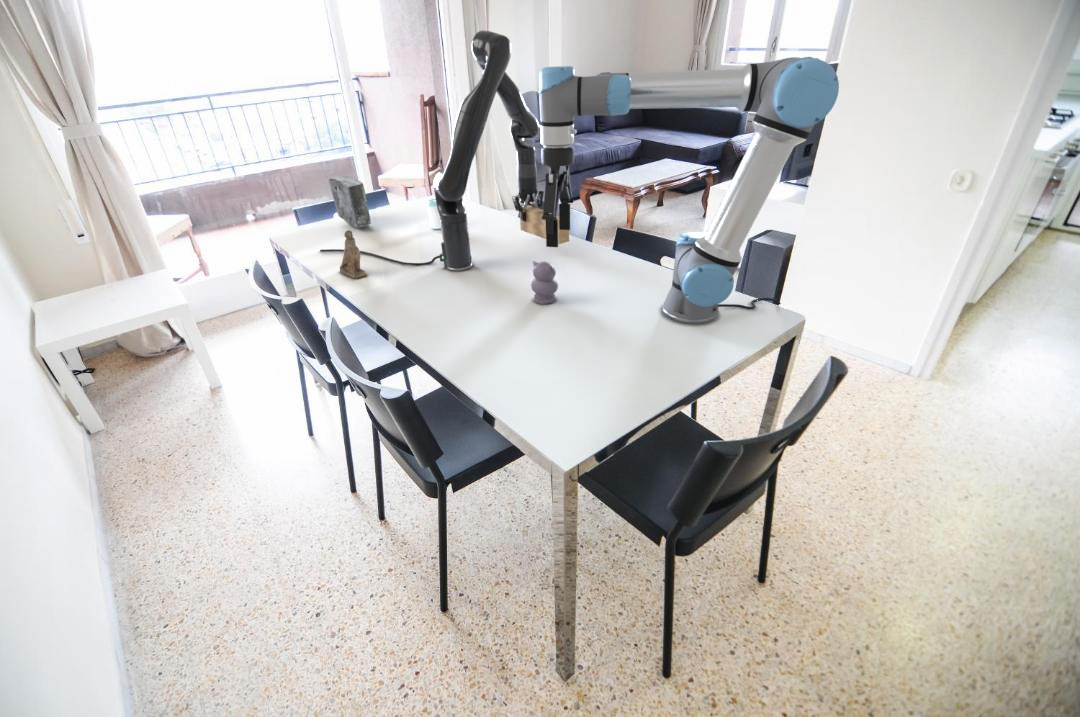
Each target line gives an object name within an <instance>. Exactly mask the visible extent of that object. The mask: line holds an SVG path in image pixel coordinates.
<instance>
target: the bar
mask: <svg viewBox="0 0 1080 717" xmlns="http://www.w3.org/2000/svg"><path fill="white" fill-rule="evenodd" d="M543 210H544V209H542V208H540V207H539V208H536V207H532V205H527V207H526V210H525V212H526V222H523V221H522V220H521V215H520V214H519V225H520V231H523V232H525V233H528V234H529V235H530V234H531V235H533V236H536V237H539V238H542V239H544V240H546V220H542V216H543ZM549 214H551V213H549ZM557 219H558V245H562V244H565V243H568V242H570V230H559V213H557Z"/></svg>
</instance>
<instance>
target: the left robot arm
mask: <svg viewBox="0 0 1080 717" xmlns="http://www.w3.org/2000/svg"><path fill="white" fill-rule="evenodd" d="M471 53H472V56H473V58H474V59H475V61H476V63H477V64H478V66H479V68H481V70H482V74H481V76H480V79H479V81H478V83H477V84H476V86H474V88H473V89H472V90H470V92H469V93H468V94H467V95H466V96H465V98H464V99H463V100H462V101H461V102H460V105H459V106H458V111H457V113H456V117H455V121H454V124H453V129H452V136H451V137H452V138H451V150H450V155H449V158H448V162H447V165H446V167H445V169H442V170H440V171H438V172H437V173H436V175H435V177H434V179H433V191H434V197H435V198H434V199H436V204H437V209H438V213H439V216H440V223H441V229H440V230H441V235H442V242H441V243H440V246H441V250H442V251H441V253H440V254H439V255H436V256H434V257H433V258H432V259H431V260H430V261H427V262H406V261H405V262H404V261H400V260H397V259H393V258H389V257H386V256H383V255H379V254H376V253H372V252H368V251H364V250H359V251H360V254H363V255H366V256H367V255H368V256H372V257H375V258H378V259H381V260H386V261H389V262H392V263H396V264H400V265H403V266H404V265H405V266H426V265H431V264H433V263H434V262H435V261H436V260H437V259H439V262H443V267H444V269H445V270H449V271H454V272H459V271H467V270H469V269H471V268H472V266H473V258H472V257H473V256H472V250H471V242H470V234H469V224H468V216H467V211H466V210H467V209H466V208H465V205H464V200H463V197H464V195H465V193H466V189H467V185H468V181H469V176H470V171H471V167H472V164H473V161H474V159H475V155H476V153H477V150H478V147H479V144H480V142H481V138H482V136H483V133H484V130H485V127H486V124H487V121H488V117H489V114H490V112H491V108H492V105H493V102H494V100H495V97H496V94H498V97H499V99H500V101H501V103H502V105H503V108H504V110H505V112H506V114H507V116H508V117H509V119H511V121H510V124H509V131H510V136H511V138H512V142H513V145H514V148H515V153H516V179H517V180H516V181H517V188H518V191H517V192H518V193H517V194H516V195H512V196H511V200H512V203H513V206H514V209H515V211H516V212H519V216H520V215H521V220H522V221H523V222H526V212H525V210H526V207H527V206H529V205H528V204H529V203H530V206H532V207H536V208H539V209H540V207H542V206H543V201H544V195H545V191H543V190H541V189H538V169H537V159H536V148H535V146H534V145H533V144H532V145H531V144H529V143H527V142H526V141H525V139H535V138H536V137H537V136H538V135H539V134H540V133H539V132H540V122H539V121H538V119H537V117H536V115H535V114H534V113H533V111H532V110H531V109H530V108H529V107H528V106H527V105H526V102H525V99H524V96H523V95H522V93H521V90H520V89H519V87H518V86H517V85H516V83H515V81H513V80H512V78H511V77H510V76H509V75H508V73H507V72H506V70H507V68H508V66H509V63H510V59H511V56H512V43H511V41H510V39H509V37H508V36H506V35H504V34H501V33H497V32H493V31H490V30H483V29H482V30H479V31H477V32H476V33H475V34H474V36H473V38H472V41H471ZM344 249H345V248H344ZM344 249H341V248H338V249H337V248H334V249H332V248H331V249H329V248H328V249H319V252H320V253H325V252H326V253H327V252H328V253H329V252H340V253H341V252H342V253H344Z"/></svg>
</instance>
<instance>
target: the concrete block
mask: <svg viewBox="0 0 1080 717" xmlns="http://www.w3.org/2000/svg"><path fill="white" fill-rule="evenodd" d="M328 183H329V188H330V191H331V195H332V198H333V202H334V206H335V209H336V212H337V215H338V217H339V218H341V219H342V220H344V221H345V222H346V224H347V223H348V224H349V225H350V226H351V227H353V228H358V229H359V228H362V227H365V226H369V225H371V224H372V220H371V214H370V210H369V205H368V199H367V194H366V190H365V185H364V183H363V182H362V181H360V180H358V179H357V178H354V177H351V176H347V175H339V176H334V177H333V176H332V177H330V178H329V179H328Z"/></svg>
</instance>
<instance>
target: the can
mask: <svg viewBox="0 0 1080 717" xmlns="http://www.w3.org/2000/svg"><path fill="white" fill-rule="evenodd" d="M426 207H427V211H428V212H427V213H428V219H429V226H430V228H431V229H433V230H442V229H441V223H440V216H439V213H438V209H437V204H436V198H432V199H428V201H427V204H426Z"/></svg>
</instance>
